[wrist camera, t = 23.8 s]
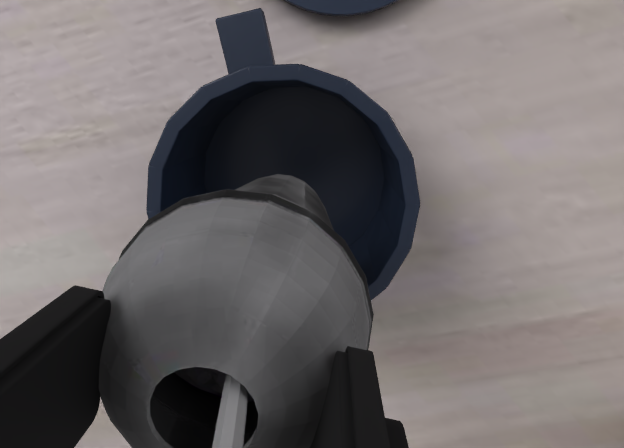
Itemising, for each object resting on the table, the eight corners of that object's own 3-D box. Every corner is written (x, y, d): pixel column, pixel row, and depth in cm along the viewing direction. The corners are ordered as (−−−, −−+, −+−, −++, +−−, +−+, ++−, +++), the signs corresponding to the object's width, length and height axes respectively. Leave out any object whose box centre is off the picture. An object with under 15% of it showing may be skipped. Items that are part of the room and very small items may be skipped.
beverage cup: (187, 176, 23) (-508, 555, 4) (321, 124, 22) (288, 273, 3) (244, 300, 25) (-41, 993, 6) (370, 256, 24) (554, 897, 5)
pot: (367, 12, 31) (384, -26, 21) (413, 284, 35) (443, 348, 26) (161, 61, 32) (93, 44, 23) (233, 317, 37) (201, 389, 28)
